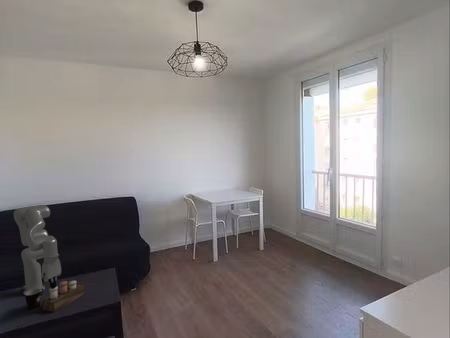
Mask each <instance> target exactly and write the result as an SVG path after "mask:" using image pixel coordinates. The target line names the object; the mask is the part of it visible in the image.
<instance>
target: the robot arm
mask: <svg viewBox="0 0 450 338" xmlns="http://www.w3.org/2000/svg"><path fill="white" fill-rule="evenodd" d="M50 215H51V209H50V208H49V206H47V205H44V204H38V205H31V206H23V207H20V208H17V209H15V210H14V211H13V219H14V221H15V223H16V225H17V226H18V230H19V235H20V240H21V245H22V246H24V247H26V246H27V248H24V249H23V250H22V251H21V254H20V255H21V256H20V257H21V259H22V265H23V271H24V281H25V282H24V284H25V285H23V286H22V287H23V288H24V291H23V295H24V296H25V293H26V292H27V291H29V290H32V289H37V288H39V289H43V291H45V290H46V287H45V285H43V282H46V283H49V288H55V287H56V286H57V280H58V277H60V276H61V275H62V266H61V265H62V264H61V261H60V258H59V256H60V254H59V253H58V252H59V251H58V241H57V238H56V237H54V236H53V235H49V233H48V231H47V230H46V229H44V228H45V226H46V222H45V220H44V219H46V218H49V217H50ZM40 259H43V262H42V265H41V264H40V263H39V262H38V260H40ZM42 279H43V281H42ZM41 293H42V290H41Z"/></svg>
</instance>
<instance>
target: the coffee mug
mask: <svg viewBox="0 0 450 338" xmlns="http://www.w3.org/2000/svg"><path fill="white" fill-rule="evenodd" d="M41 290H42V292H41ZM43 294H44V290H43V289H39V288H37V289H32V290H29V291H27V292H26V293H25V295H24V298H25V302H26V306H27V309H28V310H27V311H34V310H36V309H38V308H40V306H41V301H42V300H41V299H42V295H43Z"/></svg>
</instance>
